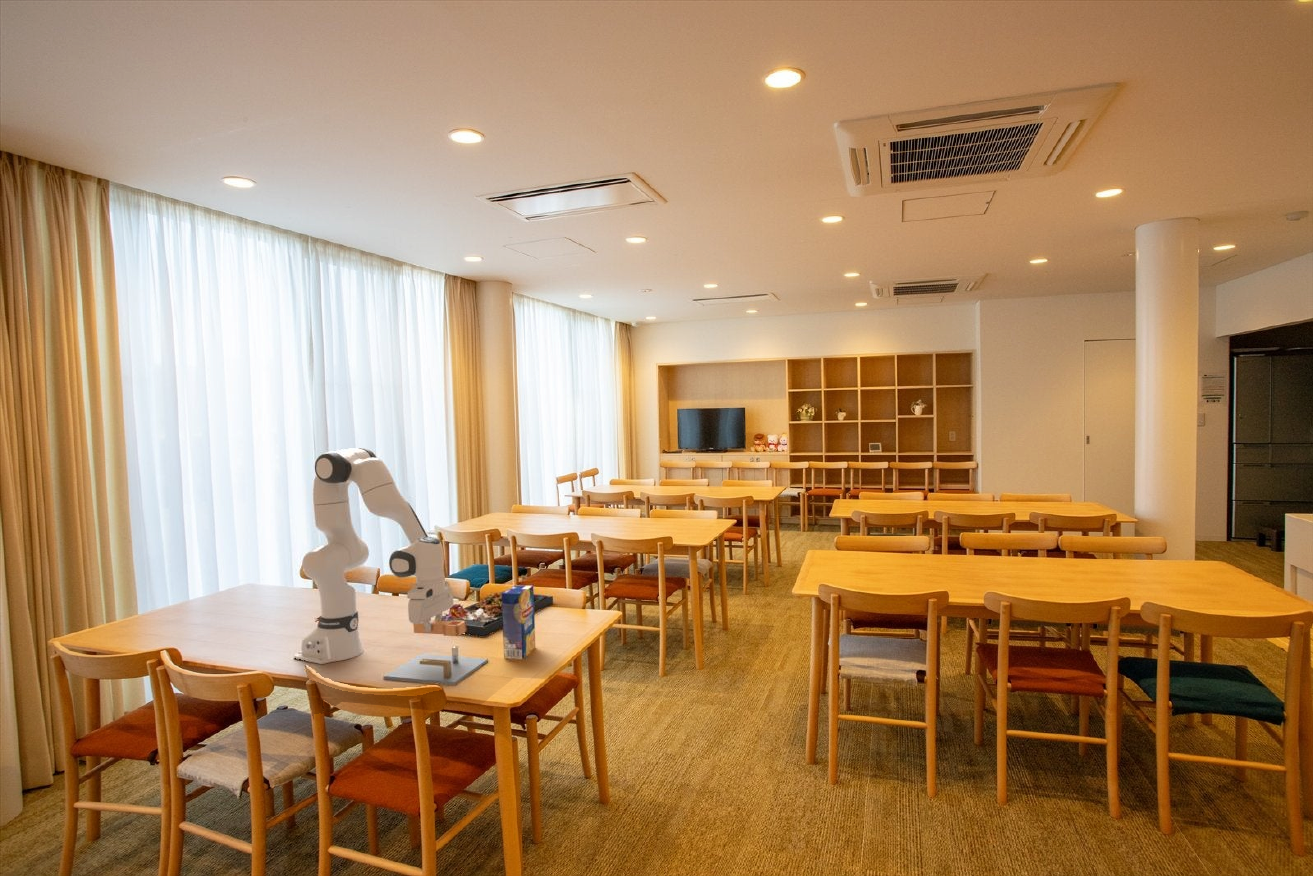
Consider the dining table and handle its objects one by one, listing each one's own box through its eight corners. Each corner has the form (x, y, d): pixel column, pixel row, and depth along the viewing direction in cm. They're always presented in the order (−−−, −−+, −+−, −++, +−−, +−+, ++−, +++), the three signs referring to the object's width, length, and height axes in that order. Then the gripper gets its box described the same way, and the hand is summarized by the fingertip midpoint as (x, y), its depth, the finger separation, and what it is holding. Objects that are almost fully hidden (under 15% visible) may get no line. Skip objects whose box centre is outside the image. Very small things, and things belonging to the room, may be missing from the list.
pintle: (451, 663, 222) (450, 648, 222) (454, 661, 224) (453, 646, 224) (456, 663, 221) (455, 648, 221) (459, 661, 223) (459, 646, 223)
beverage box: (535, 648, 236) (533, 585, 236) (523, 660, 226) (520, 594, 225) (517, 648, 238) (514, 585, 237) (503, 659, 227) (501, 593, 226)
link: (411, 634, 223) (411, 623, 223) (421, 629, 228) (420, 618, 228) (457, 636, 219) (457, 625, 219) (466, 631, 224) (466, 621, 224)
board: (383, 679, 212) (383, 676, 212) (421, 656, 232) (421, 653, 232) (454, 685, 206) (454, 682, 206) (488, 661, 225) (488, 658, 225)
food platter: (484, 639, 250) (483, 611, 250) (432, 632, 261) (431, 605, 260) (553, 606, 291) (552, 582, 291) (506, 601, 301) (505, 578, 301)
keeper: (420, 676, 211) (419, 661, 211) (424, 674, 213) (423, 658, 213) (448, 678, 208) (447, 663, 208) (451, 676, 210) (451, 660, 210)
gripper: (440, 579, 235) (442, 619, 235) (403, 594, 215) (405, 638, 215) (457, 579, 233) (459, 620, 233) (421, 595, 213) (423, 639, 214)
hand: (433, 629), depth 224 cm, fingers closed on link, 3 cm apart
